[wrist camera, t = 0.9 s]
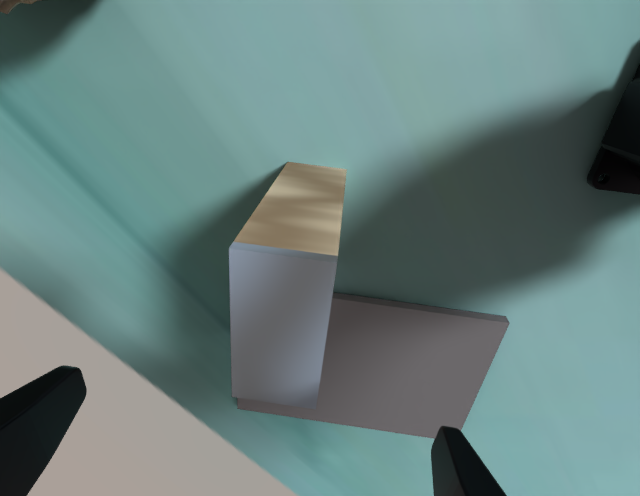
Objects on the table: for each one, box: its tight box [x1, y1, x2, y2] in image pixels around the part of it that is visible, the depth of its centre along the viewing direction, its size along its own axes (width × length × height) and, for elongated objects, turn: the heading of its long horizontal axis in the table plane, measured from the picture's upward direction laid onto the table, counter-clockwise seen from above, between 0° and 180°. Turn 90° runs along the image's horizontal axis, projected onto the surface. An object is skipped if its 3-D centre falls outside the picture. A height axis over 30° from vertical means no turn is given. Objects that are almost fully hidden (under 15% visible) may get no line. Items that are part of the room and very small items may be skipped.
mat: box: [237, 292, 509, 439], centre depth 24 cm, size 16×11×1 cm
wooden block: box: [229, 162, 347, 409], centre depth 15 cm, size 3×6×9 cm, turn 174°
